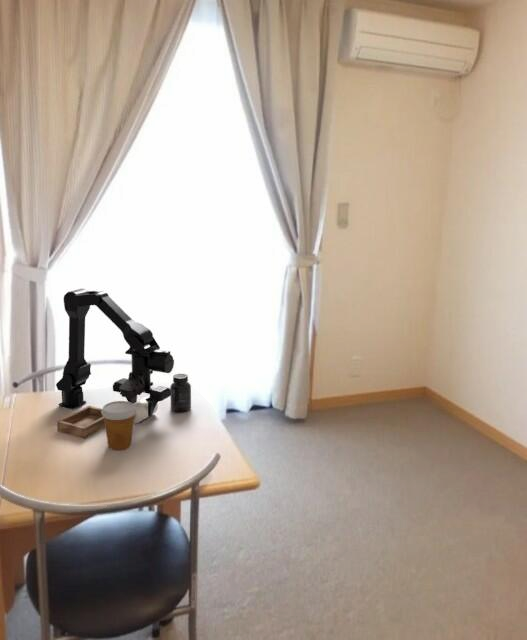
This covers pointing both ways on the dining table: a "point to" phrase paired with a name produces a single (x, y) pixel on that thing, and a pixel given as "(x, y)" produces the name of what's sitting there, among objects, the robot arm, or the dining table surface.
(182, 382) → the supplement bottle
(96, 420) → the walnut cradle
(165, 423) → the dining table surface
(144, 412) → the paper roll
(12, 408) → the dining table surface
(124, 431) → the disposable coffee cup
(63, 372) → the robot arm
